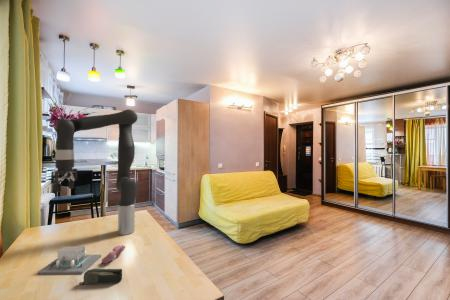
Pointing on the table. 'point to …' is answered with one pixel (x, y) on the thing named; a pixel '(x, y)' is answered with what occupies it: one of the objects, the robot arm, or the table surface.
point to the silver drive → (71, 255)
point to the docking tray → (69, 266)
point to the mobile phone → (102, 276)
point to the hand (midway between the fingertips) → (65, 190)
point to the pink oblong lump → (113, 254)
